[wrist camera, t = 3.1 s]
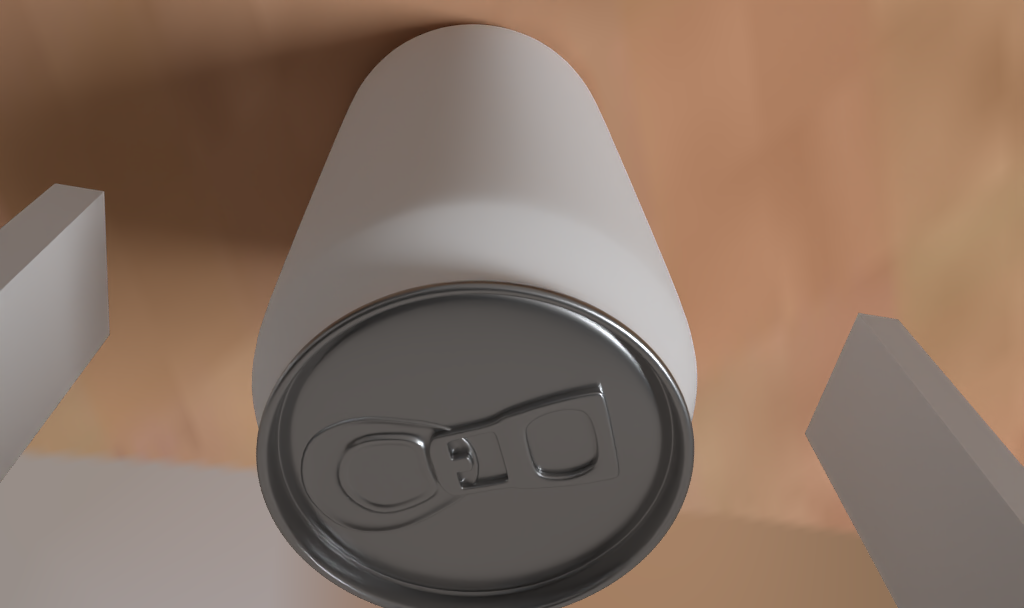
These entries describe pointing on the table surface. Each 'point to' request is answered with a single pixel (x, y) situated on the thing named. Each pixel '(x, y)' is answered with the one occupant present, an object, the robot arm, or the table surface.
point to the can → (474, 342)
